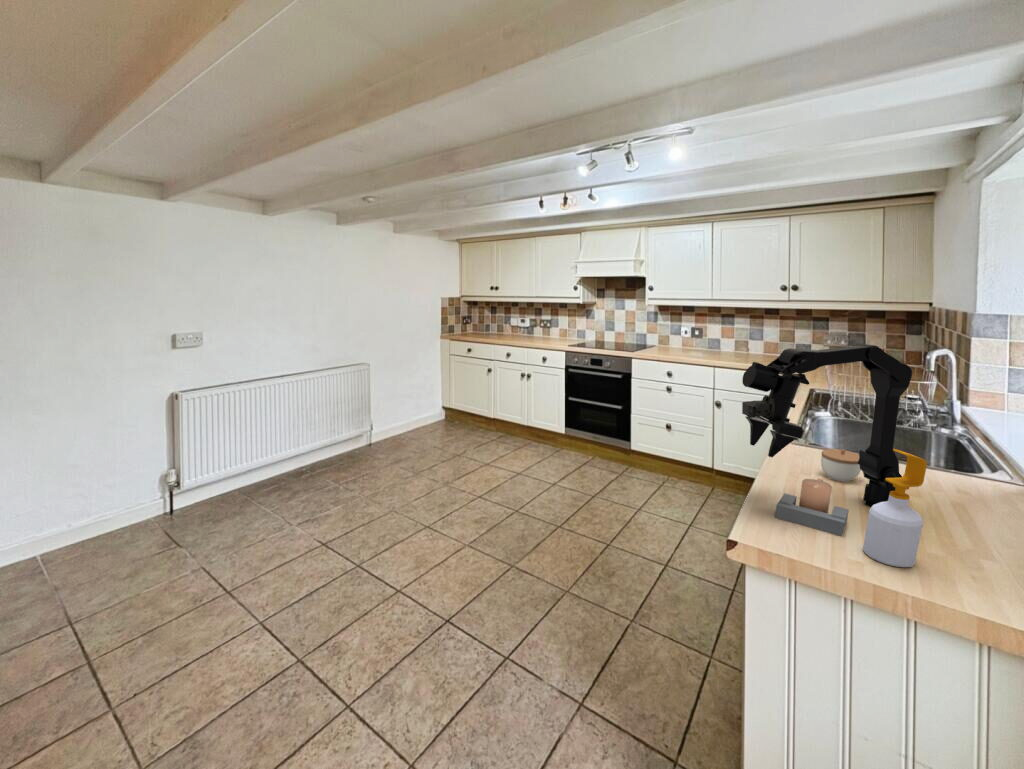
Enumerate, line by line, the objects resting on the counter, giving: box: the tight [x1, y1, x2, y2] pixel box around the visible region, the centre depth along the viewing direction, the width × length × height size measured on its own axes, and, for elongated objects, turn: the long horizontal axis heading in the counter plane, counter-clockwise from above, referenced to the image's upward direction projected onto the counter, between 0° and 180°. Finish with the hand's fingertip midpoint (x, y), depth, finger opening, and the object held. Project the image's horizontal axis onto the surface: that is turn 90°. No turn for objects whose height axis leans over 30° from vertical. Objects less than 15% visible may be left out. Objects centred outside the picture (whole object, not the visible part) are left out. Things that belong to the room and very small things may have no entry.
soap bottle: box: [862, 448, 928, 568], centre depth 101 cm, size 9×9×25 cm
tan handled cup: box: [798, 478, 833, 514], centre depth 122 cm, size 6×10×9 cm, turn 139°
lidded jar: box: [820, 448, 862, 483], centre depth 145 cm, size 11×11×9 cm
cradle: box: [774, 492, 849, 537], centre depth 119 cm, size 14×9×4 cm, turn 49°
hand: (760, 450), depth 125 cm, fingers open, 9 cm apart
